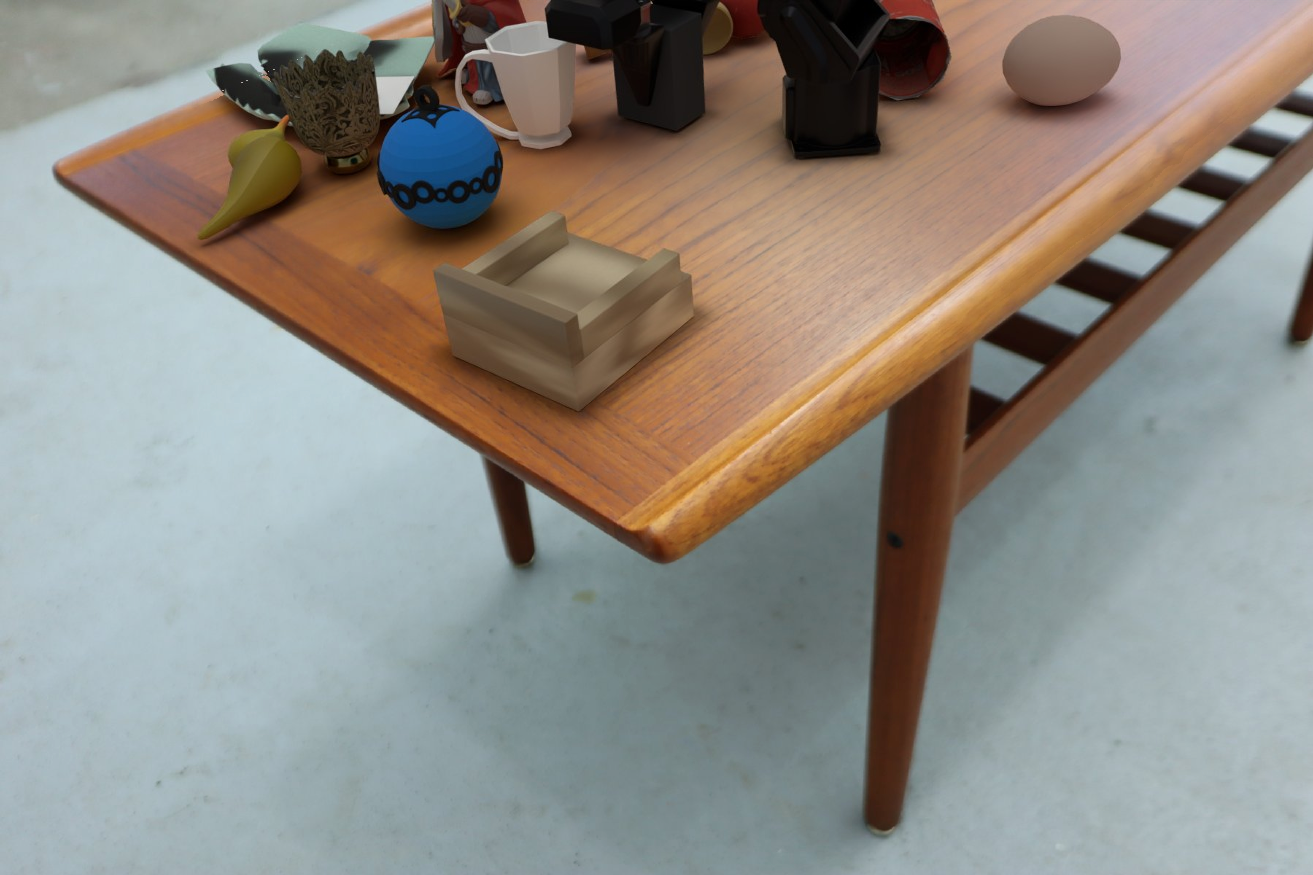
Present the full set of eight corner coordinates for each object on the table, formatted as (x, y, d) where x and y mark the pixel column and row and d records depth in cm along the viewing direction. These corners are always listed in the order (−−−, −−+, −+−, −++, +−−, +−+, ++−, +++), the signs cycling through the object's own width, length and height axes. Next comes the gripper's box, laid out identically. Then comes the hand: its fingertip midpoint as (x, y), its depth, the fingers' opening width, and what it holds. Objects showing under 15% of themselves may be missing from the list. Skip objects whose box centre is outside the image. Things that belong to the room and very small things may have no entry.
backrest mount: (570, 271, 72) (559, 188, 68) (694, 316, 67) (689, 230, 63) (452, 355, 66) (432, 270, 62) (578, 412, 61) (565, 322, 57)
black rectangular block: (647, 98, 92) (639, 1, 86) (705, 112, 89) (701, 13, 83) (617, 116, 89) (608, 17, 84) (676, 131, 86) (670, 30, 81)
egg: (1019, 116, 82) (1132, 109, 83) (1030, 22, 79) (1148, 16, 80) (982, 101, 88) (1089, 95, 89) (992, 13, 85) (1102, 8, 86)
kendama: (598, 91, 97) (792, 35, 97) (579, 18, 94) (780, -40, 94) (589, 74, 104) (771, 21, 104) (571, 5, 100) (758, -49, 101)
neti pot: (319, 81, 83) (257, 96, 86) (219, 208, 74) (154, 219, 77) (351, 129, 86) (290, 141, 89) (258, 256, 77) (194, 265, 80)
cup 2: (581, 156, 85) (569, 53, 79) (456, 159, 86) (435, 58, 81) (593, 116, 90) (582, 18, 85) (475, 120, 91) (456, 23, 86)
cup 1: (415, 152, 87) (393, 53, 82) (360, 195, 82) (332, 92, 77) (340, 140, 90) (314, 44, 85) (282, 180, 85) (250, 81, 80)
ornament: (535, 204, 79) (513, 69, 73) (467, 262, 74) (437, 122, 67) (439, 185, 83) (410, 54, 76) (367, 239, 77) (330, 104, 70)
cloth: (422, 114, 88) (428, 141, 89) (440, 9, 104) (445, 34, 106) (168, 138, 88) (179, 165, 89) (226, 29, 104) (234, 53, 105)
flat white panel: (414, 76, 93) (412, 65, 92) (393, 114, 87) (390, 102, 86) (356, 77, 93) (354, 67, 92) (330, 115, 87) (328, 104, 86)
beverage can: (928, 43, 97) (936, -35, 93) (947, 99, 88) (956, 16, 84) (847, 46, 98) (850, -31, 93) (856, 103, 89) (861, 21, 84)
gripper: (637, -156, 87) (651, 39, 97) (473, -93, 76) (508, 118, 86) (754, -144, 82) (756, 61, 92) (596, -74, 71) (618, 149, 81)
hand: (660, 95), depth 88 cm, fingers closed on black rectangular block, 4 cm apart
